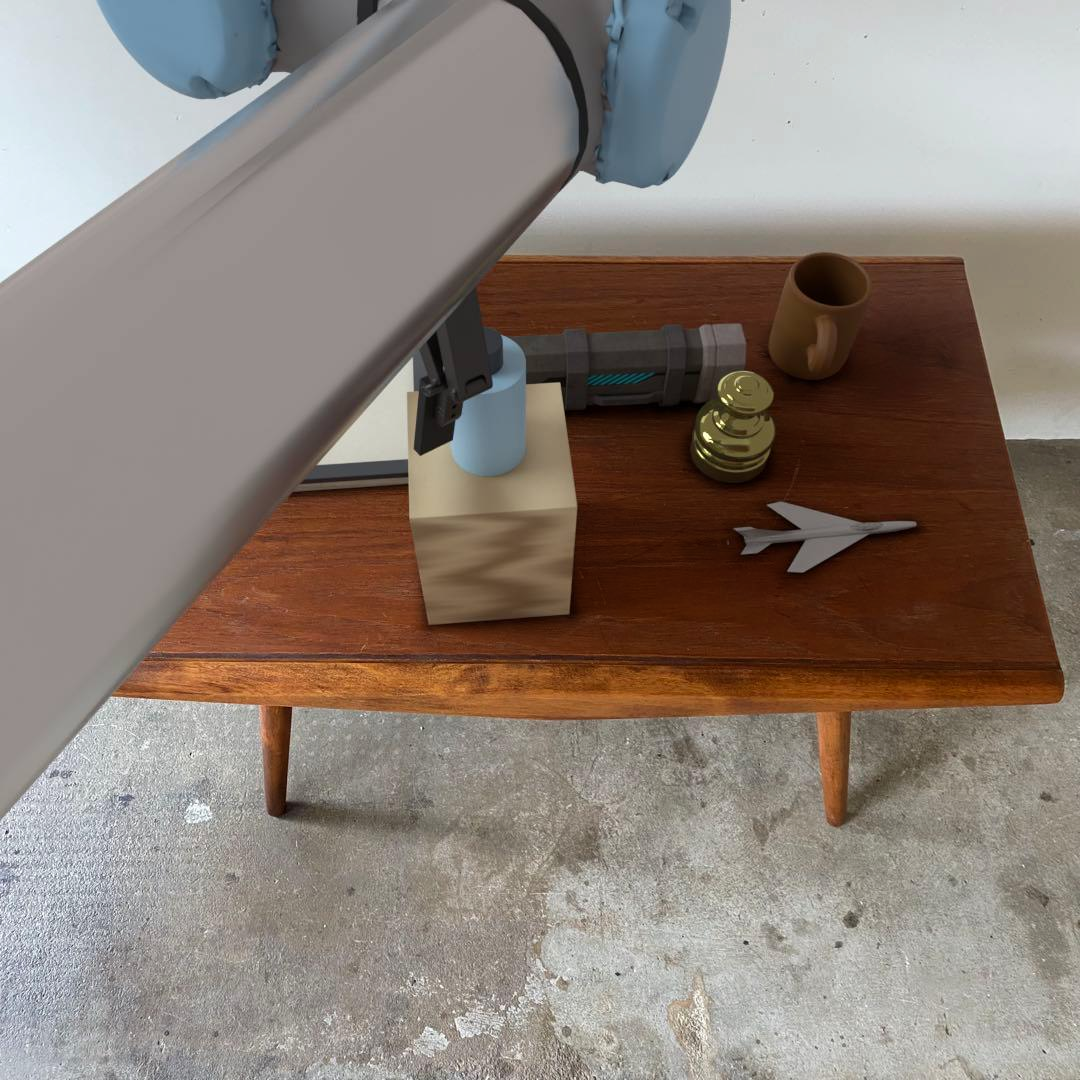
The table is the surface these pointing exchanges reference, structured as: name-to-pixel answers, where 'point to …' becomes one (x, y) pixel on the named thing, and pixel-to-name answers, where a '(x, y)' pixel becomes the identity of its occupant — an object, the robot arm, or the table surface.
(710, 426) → the brass weight
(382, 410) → the whiteboard
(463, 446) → the cleaner bottle
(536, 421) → the stand
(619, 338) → the tube
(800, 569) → the toy airplane
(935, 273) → the table surface
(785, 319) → the mug
